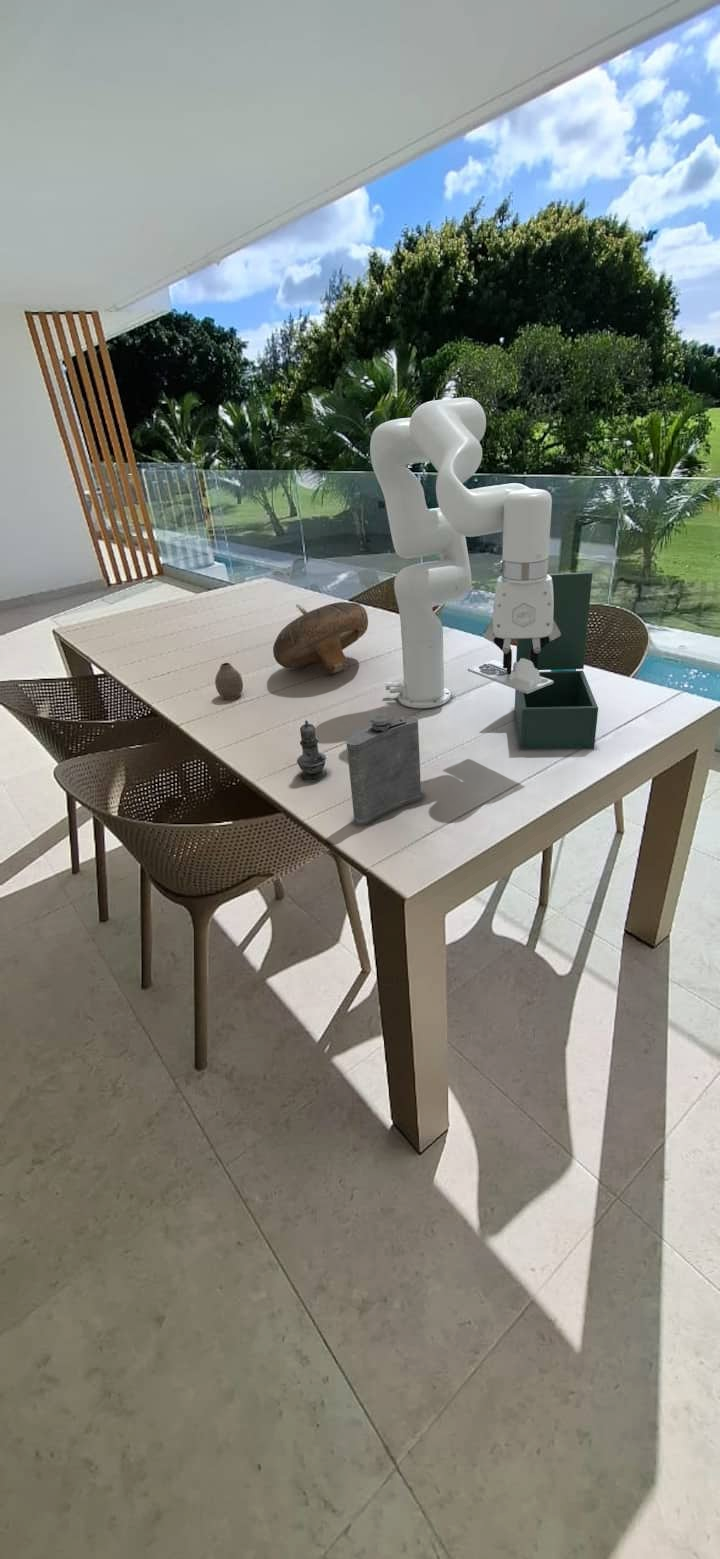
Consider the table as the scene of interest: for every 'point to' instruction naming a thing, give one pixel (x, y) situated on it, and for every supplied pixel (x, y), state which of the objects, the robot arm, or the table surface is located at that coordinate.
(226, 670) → the vase
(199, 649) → the table surface
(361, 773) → the flask
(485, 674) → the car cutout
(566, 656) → the box lid
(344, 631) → the mushroom
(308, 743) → the salt shaker
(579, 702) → the green lidded box
